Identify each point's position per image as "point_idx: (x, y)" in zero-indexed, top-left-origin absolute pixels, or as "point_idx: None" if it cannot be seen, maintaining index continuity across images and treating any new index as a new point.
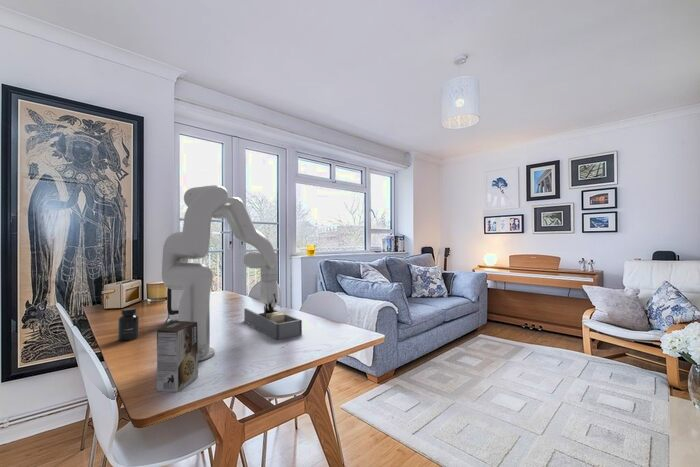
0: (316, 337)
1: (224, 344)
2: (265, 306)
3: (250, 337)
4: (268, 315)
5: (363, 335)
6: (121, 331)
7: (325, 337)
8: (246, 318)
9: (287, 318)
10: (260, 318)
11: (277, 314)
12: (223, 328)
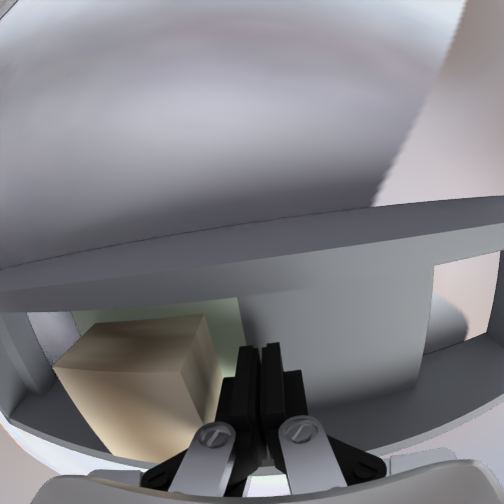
0: None
1: (34, 26)
2: (302, 453)
3: (49, 141)
4: (119, 366)
5: (45, 460)
6: None
7: None
8: (502, 200)
9: None
10: (127, 268)
11: (108, 425)
12: (387, 4)
